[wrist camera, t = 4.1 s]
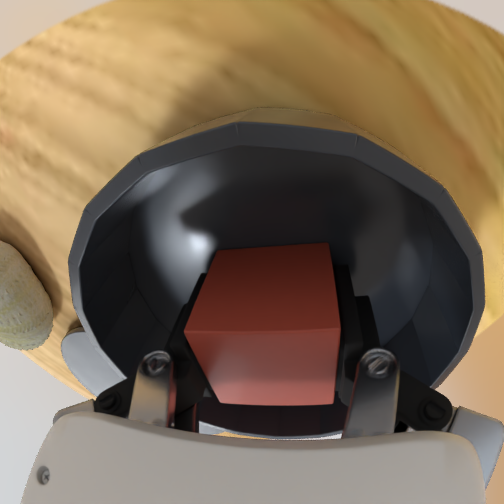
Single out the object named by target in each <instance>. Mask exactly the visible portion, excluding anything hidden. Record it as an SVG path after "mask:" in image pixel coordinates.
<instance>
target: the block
mask: <svg viewBox="0 0 504 504" xmlns="http://www.w3.org/2000/svg"><path fill="white" fill-rule="evenodd" d="M340 333H341V326H340V318H339V310H338V302H337V294H336V287H335V280H334V273H333V267H332V260H331V254H330V248H329V244H328V243H327V242H326V243H312V244H298V245H284V246H270V247H257V248H243V249H229V250H218V251H217V252H216V255H215V257H214V259H213V262H212V264H211V266H210V269H209V271H208V273H207V276H206V278H205V281H204V283H203V285H202V288H201V290H200V292H199V295H198V297H197V300H196V302H195V304H194V307H193V309H192V312H191V314H190V317H189V319H188V322H187V324H186V327H185V329H184V334H185V336H186V338H187V340H188V342H189V344H190V346H191V348H192V350H193V352H194V354H195V356H196V358H197V360H198V362H199V364H200V366H201V368H202V370H203V372H204V374H205V376H206V377H207V379H208V381H209V383H210V385H211V387H212V389H213V390H214V392H215V394H216V396H217V398H218V399H219V401H220V402H221V403H230V404H246V405H322V404H333V402H334V395H335V387H336V378H337V368H338V358H339V346H340Z"/></svg>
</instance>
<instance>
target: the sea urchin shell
mask: <svg viewBox="0 0 504 504" xmlns="http://www.w3.org/2000/svg"><path fill="white" fill-rule="evenodd" d="M52 327H53V309H52V305H51V300H50V299H49V295H48V294H47V293H46V292H45V290H44V288H43V286H42V283H41V282H40V281H39V280H38V278H37V277H36V276H35V274H34V273H33V271H32V269H31V266H30V265H28V264H27V262H26V261H25V260H24V258H23V257H22V255H21V254H20V253H19V252H18V251H17V250H16V249H15V248H14V247H13V246H11V245H10V244H8V243H4V242H3V241H0V342H1V343H3V344H5V346H8V347H11V348H14V349H20V350H22V349H23V350H29V349H30V350H33V349H34V348H36V347H37V348H38V347H39V346H41V345H42V344H44V342H45V340H46V339H48V337H49V334H50V332H51V331H52Z"/></svg>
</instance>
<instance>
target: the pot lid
mask: <svg viewBox="0 0 504 504" xmlns="http://www.w3.org/2000/svg"><path fill="white" fill-rule="evenodd" d="M61 352H62V356H63V358H64V361H65V363H66V364H67V366H68V368H69V369H70V371H71V372H72V374H73V375H74V376H75V377H76V378H77V380H78V381H79V382H80V383H81V384H82V385H83V386H84V387H85V388H86V389H88V390H89V391H90V392H91V393H92V394H93V395H95V396H96V397H98V395H99V394H100V393H101V392H103V391H104V390H106V389H108V388H110V387H111V386H113V385H115V384H117V383H119V382H121V381H122V380H123V379H122V378H121V377H120V376H119V375H118V374H117V373H116V372H115V371H114V370H113V369H112V368H111V367H110V365H109V364H108V363H107V362H106V361H105V360H104V359H103V357H102V356H101V355H100V354H99V353H98V352H97V350H96V349H95V348H94V347H93V345H92V344H91V342H90V340H89V338H88V336H87V334H86V332H85V330H84V328H83V327H79V328H76V329H73V330H71V331H70V332H68V333H67V334H66V336H65V337H64V339H63V340H62V344H61ZM222 432H225V431H222V430H218V429H215V428H211V427H208V426H205V425H202V424H199V433H201V434H208V435H213V434H218V433H222Z"/></svg>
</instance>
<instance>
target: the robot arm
mask: <svg viewBox="0 0 504 504" xmlns="http://www.w3.org/2000/svg"><path fill="white" fill-rule="evenodd" d="M333 273H334V280H335V287H336V294H337V302H338V310H339V318H340V326H341V333H340V346H339V358H338V368H337V378H336V387H335V391H339V398H341V402H342V403H344V404H345V405H347V406H348V411H347V415H346V420H345V424H344V428H343V432H342V437H341V439H324V440H266V439H248V438H236V437H225V436H216V435H208V434H201V433H199V401H201V400H202V399H203V396H204V397H212V395H213V391H214V390H213V389H212V387H211V385H210V383H209V381H208V379H207V377H206V376H205V374H204V372H203V370H202V368H201V366H200V364H199V362H198V360H197V358H196V356H195V354H194V352H193V350H192V348H191V346H190V344H189V342H188V340H187V338H186V336H185V334H184V329H185V327H186V324H187V322H188V319H189V317H190V314H191V312H192V309H193V307H194V304H195V302H196V300H197V297H198V295H199V292H200V290H201V288H202V285H203V283H204V281H205V278H206V276H207V273H201V274H200V276H199V278H198V280H197V282H196V285H195V287H194V289H193V291H192V294H191V296H190V298H189V300H188V303H186V304H184V305H183V307H182V309H181V311H180V313H179V316H178V318H177V320H176V322H175V325H174V327H173V329H172V332H171V334H170V336H169V338H168V341H167V343H166V345H165V348H164V350H163V349H156V350H152V351H150V352H148V353H147V354H145V355H144V356H143V357H142V358H141V360H140V362H139V364H138V369H137V373H135V374H133V375H132V376H130V377H128V378H126V379H124V380H122V381H121V382H119V383H117V384H115V385H113V386H111V387H110V388H108V389H106V390H104V391H103V392H101V393H100V394H99V395H98V397H97V398H96V401H94V400H93V399H91V400H88V401H85V402H82V403H79V404H76V405H73V406H70V407H67V408H64V409H61V410H59V411H58V412H57V413H56V414H55V416H54V419H53V426H52V427H51V429H50V431H49V432H48V434H47V436H46V438H45V440H44V442H43V444H42V446H41V448H40V450H39V452H38V455H37V457H36V459H35V462H34V465H33V467H32V470H31V473H30V475H29V478H28V481H27V484H26V487H25V490H24V493H23V497H22V501H21V504H486V497H485V490H486V488H487V485H488V483H489V481H490V478H491V476H492V473H493V471H494V468H495V466H496V463H497V460H498V457H499V454H500V452H501V448H502V445H503V442H504V425H503V424H502V422H501V421H499V420H497V419H495V418H492V417H489V416H486V415H483V414H481V413H477V412H475V411H472V410H470V409H467V408H464V407H461V406H459V407H458V408H457V407H454V406H452V404H451V402H450V401H449V399H448V398H447V397H445V396H444V395H442V394H441V393H439V392H437V391H436V390H434V389H432V388H431V387H429V386H427V385H426V384H424V383H422V382H421V381H419V380H417V379H416V378H414V377H412V376H411V375H409V374H408V373H406V372H404V371H403V370H401V369H400V363H399V359H398V357H397V355H396V354H395V353H394V352H393V351H391V350H389V349H387V348H383V347H381V345H380V340H379V336H378V331H377V327H376V322H375V318H374V314H373V310H372V306H371V301H370V298H369V296H368V295H365V296H355V294H354V289H353V285H352V280H351V275H350V271H349V266H348V264H344V265H334V269H333Z"/></svg>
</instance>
